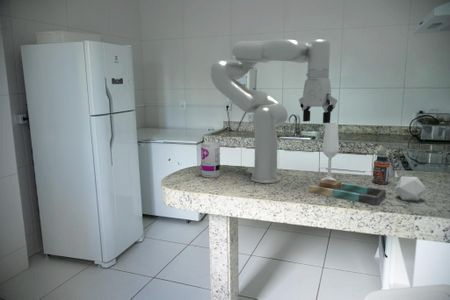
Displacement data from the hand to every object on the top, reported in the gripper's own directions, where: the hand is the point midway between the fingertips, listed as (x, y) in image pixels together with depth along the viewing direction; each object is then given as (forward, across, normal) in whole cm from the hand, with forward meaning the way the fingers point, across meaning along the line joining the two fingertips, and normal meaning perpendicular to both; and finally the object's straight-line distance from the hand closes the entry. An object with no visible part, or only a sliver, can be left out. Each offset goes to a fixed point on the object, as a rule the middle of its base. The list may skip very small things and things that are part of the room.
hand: (316, 122), depth 122 cm
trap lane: (+26, +12, +4) cm, 29 cm away
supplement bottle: (+26, +9, +29) cm, 40 cm away
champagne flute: (+26, -5, +14) cm, 30 cm away
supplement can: (+26, -39, -24) cm, 52 cm away
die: (+26, +27, +18) cm, 42 cm away
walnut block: (+26, +6, +2) cm, 27 cm away
